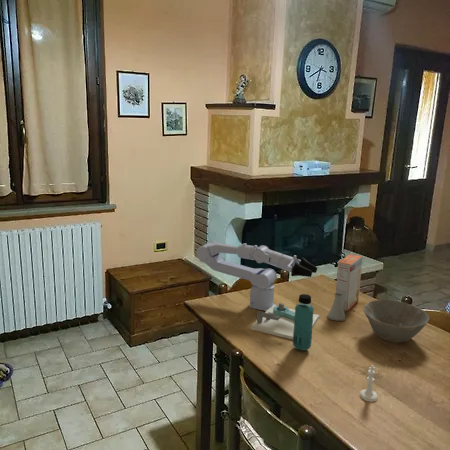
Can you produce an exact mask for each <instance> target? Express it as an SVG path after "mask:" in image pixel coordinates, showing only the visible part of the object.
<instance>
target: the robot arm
mask: <svg viewBox="0 0 450 450" xmlns="http://www.w3.org/2000/svg"><path fill="white" fill-rule="evenodd" d="M221 254H227V255H228V254H229V255H231V254H232V255H236V256H237V257H239V258H240V259H244V260H251V261H256V263H257V264H262V263H264V264H268V265H271V266H274V267H276V268H279V269H282V270H285V271H286V272H289V273H290V276H291V277H307V278H311V277H312V275H313V273H314V274H315V273H317V271H318V266H315V265H314V264H312V263H311V262H309V261H308V260H307V258H305V257H301V259H299V258H297V257H298V256H297V255H295V254H294V255H293V256H291V255H287V254H284V253H281V252H279V251H275V250H272V249H270V248H269V246H267V245H264V244H262V245H259V246H258V245H257V244H255V245H249V244H247V242H246V243H241V244H240V245H238V246H236V245H231V244H227V243H222V242H219V241H209V242H208V243H205V244H203V245H200V246H199V247H198V248H197V249H196V256H197V258H198V260H199V262H202V263H204V264H205V265H206V266H208V267H209V268H210V269H211V270H213V271H215V272H217V273H218V272H219V273H221V274H226V275H229V276H232V277H235V278H239V279H242V280H243V279H244V280H246V281H249V282H250V283H251V285H252V286H251V287H250V292H249V306H248V308H251V309H255V310H260V311H265V312H266V311H267V310H268V309H269V308H270V307H272V306H273V305H276V306H277V303H274V301H275V300H274V297H275V296H274V295H275V284H274V282H275V281H276V280H277V272H276V271H275V270H274V269H272V268H262V267H261V268H260V267H259V268H253V267H249V266H247V265H242V264H240V263H239V264H238V263H235V262H232V261H231V262H230V261H227V260H225V259H222V255H221Z"/></svg>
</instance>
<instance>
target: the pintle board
mask: <svg viewBox="0 0 450 450" xmlns="http://www.w3.org/2000/svg"><path fill="white" fill-rule="evenodd" d="M276 306H277V304H276V305H273V306H272V307H270V308H269V309H268V310H267V311H265V312H263V311H261V310H260V311H257V313H256V321H254V323H253V324H252V325H251V329H250V330H254V331H257V332H261V333H265V334H268V335H269V334H270V335H272V336H277V337H280V338H284V339H289V340H292V341H293V335H294V332H293V331H294V330H293V329H294V320H293V319H290V318H288V317H285V316H278V315H275V314H274V312H273V308H274V307H276ZM278 306H279V311H284V306H285V303H283V302H280V303H278ZM289 310H290V311H293V312H295V308H293V309H292V308H289ZM319 319H320V314H315V313H313V324H312V329H313V328H314V327H315V325H316V323H317V322H318V321H319Z"/></svg>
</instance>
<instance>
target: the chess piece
mask: <svg viewBox="0 0 450 450" xmlns="http://www.w3.org/2000/svg"><path fill="white" fill-rule="evenodd" d="M375 370H376V367H375V366H374V365H373V364H372V365H370V366H369V367H368V370H367V374H368V376H367V377H366V381H368V383H367V386H366V389H365V388H364V389H362V390H360V392H359V397H360V398H361V399H362V400H364V401H367V402H371V403H372V402H376V401H377V400H378V394H377V392H376V391H374V390H373V382H375V378H374V376H375V375H376V372H375Z"/></svg>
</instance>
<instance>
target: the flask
mask: <svg viewBox="0 0 450 450" xmlns="http://www.w3.org/2000/svg"><path fill="white" fill-rule="evenodd" d="M333 295H334V300H333V304H332V306H331V308H330V310H329V312H328V314H327V318H328V319H329V320H331V321H337V322H341V321H345V320H346V318H347V317H346V312H345V311H344V310H343V306H342V296H343V294H341V293H336V292H335V293H334V294H333Z"/></svg>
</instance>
